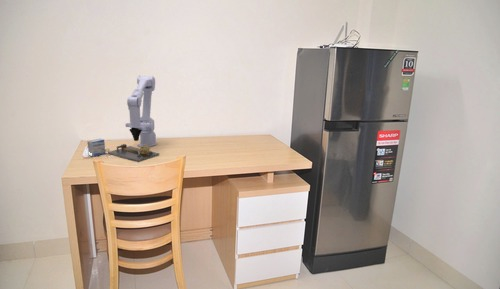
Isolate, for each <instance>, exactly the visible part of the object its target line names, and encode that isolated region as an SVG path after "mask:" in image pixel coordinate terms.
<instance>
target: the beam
mask: <svg viewBox="0 0 500 289" xmlns="http://www.w3.org/2000/svg"><path fill="white" fill-rule="evenodd" d="M127 147H128V146H127V144H126V143H123V144H121V145H118V146H116V150H117V151H119V150H118V149H122V150H126V151H130V152H134V153H138V151H137V150H133V149H129V148H127ZM150 151H151V150H150ZM152 152H153V151H151V152H148V153H147V154H142V153H141V152H140V154H142V155H146V156H152Z"/></svg>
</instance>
